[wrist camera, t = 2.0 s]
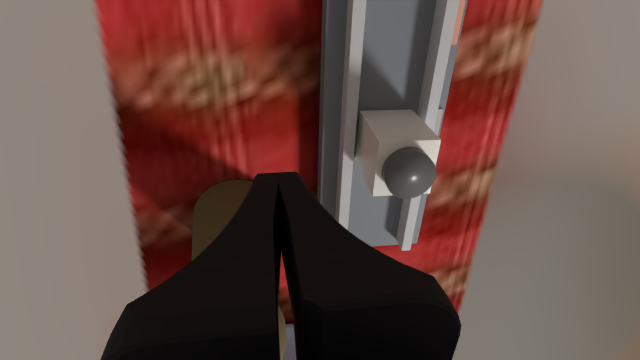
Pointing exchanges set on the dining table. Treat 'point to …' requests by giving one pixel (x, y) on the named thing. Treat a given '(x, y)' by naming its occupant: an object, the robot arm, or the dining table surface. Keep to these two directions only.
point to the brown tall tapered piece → (223, 224)
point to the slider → (396, 153)
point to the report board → (380, 100)
